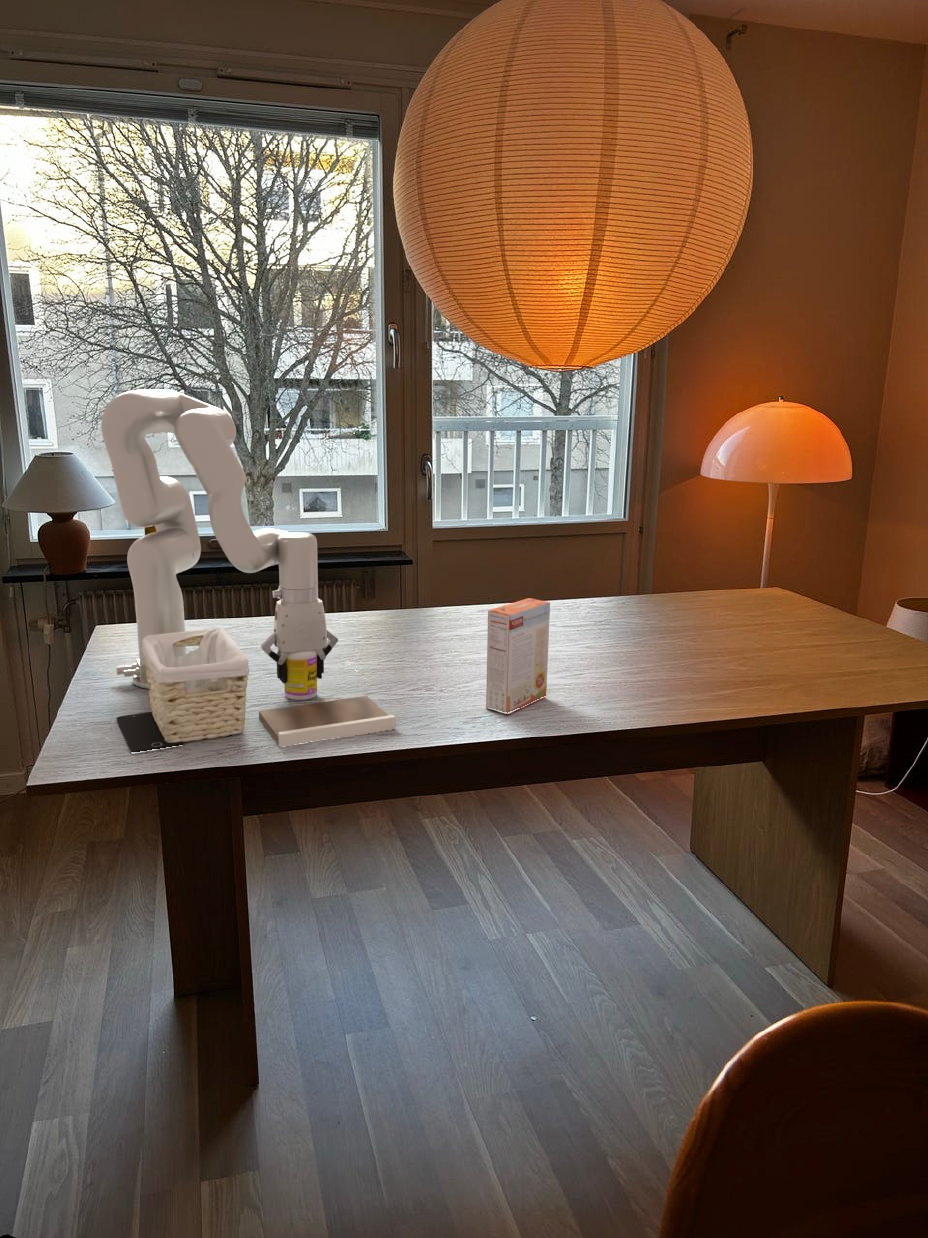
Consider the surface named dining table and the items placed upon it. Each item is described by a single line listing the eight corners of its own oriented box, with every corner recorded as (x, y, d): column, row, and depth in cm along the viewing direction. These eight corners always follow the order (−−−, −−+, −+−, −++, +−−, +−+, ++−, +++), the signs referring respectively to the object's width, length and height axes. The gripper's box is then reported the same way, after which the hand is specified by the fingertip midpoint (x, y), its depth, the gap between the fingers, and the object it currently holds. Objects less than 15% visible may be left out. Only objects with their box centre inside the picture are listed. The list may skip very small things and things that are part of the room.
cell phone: (132, 757, 154) (131, 752, 154) (116, 721, 170) (116, 716, 169) (184, 748, 158) (184, 743, 158) (164, 713, 174) (164, 709, 173)
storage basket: (144, 704, 177) (139, 633, 173) (227, 694, 184) (224, 625, 180) (161, 750, 157) (156, 670, 153) (254, 736, 164) (251, 660, 160)
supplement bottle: (310, 702, 181) (309, 641, 177) (279, 699, 182) (277, 639, 178) (322, 691, 187) (321, 632, 184) (292, 688, 188) (290, 630, 185)
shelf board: (278, 745, 160) (278, 737, 159) (259, 718, 172) (258, 711, 171) (392, 727, 169) (393, 719, 169) (366, 702, 181) (366, 695, 181)
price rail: (280, 747, 159) (280, 734, 158) (278, 745, 160) (278, 732, 159) (395, 729, 168) (395, 717, 168) (392, 727, 169) (393, 714, 169)
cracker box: (523, 691, 191) (528, 596, 185) (547, 698, 187) (552, 601, 181) (483, 709, 180) (486, 608, 174) (507, 716, 176) (511, 614, 171)
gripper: (260, 602, 172) (263, 690, 176) (346, 595, 179) (347, 679, 184) (251, 593, 178) (254, 678, 183) (334, 587, 186) (335, 668, 190)
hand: (300, 678), depth 183 cm, fingers closed on supplement bottle, 6 cm apart
